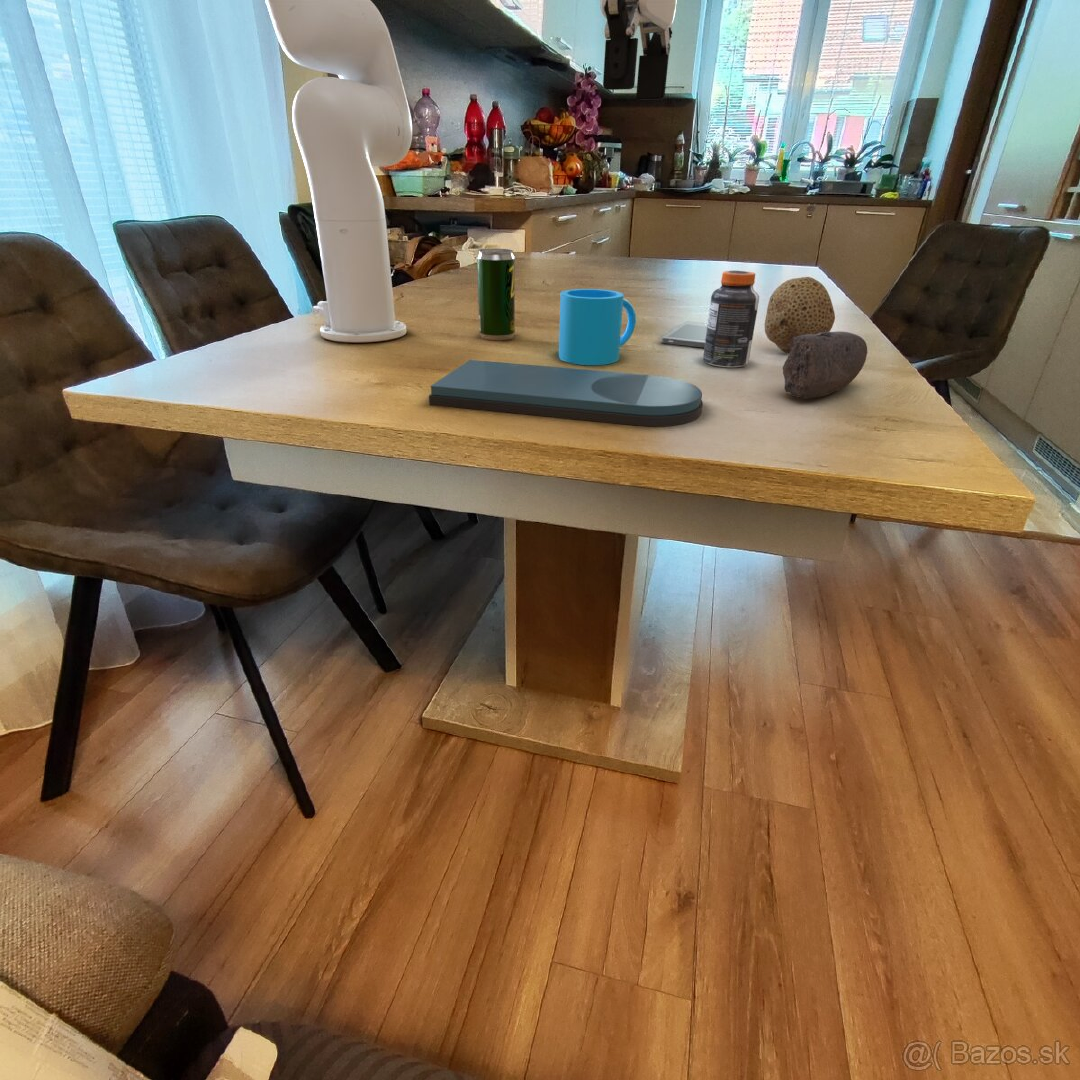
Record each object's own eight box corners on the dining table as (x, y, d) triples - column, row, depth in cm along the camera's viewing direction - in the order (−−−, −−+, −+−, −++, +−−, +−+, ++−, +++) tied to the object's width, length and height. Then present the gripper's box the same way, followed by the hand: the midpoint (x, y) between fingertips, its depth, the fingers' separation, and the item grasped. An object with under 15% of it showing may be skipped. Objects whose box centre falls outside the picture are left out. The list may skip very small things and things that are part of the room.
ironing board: (429, 404, 67) (427, 385, 66) (469, 375, 77) (468, 358, 76) (698, 432, 61) (701, 411, 60) (703, 396, 71) (706, 378, 70)
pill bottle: (756, 363, 85) (772, 271, 79) (734, 371, 81) (750, 275, 76) (716, 355, 88) (729, 267, 83) (693, 362, 85) (706, 270, 79)
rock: (836, 377, 79) (851, 319, 76) (877, 387, 76) (894, 327, 72) (763, 397, 71) (775, 333, 68) (804, 409, 68) (820, 343, 64)
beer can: (482, 341, 94) (479, 252, 88) (476, 333, 98) (474, 248, 92) (517, 340, 95) (517, 252, 89) (511, 332, 99) (510, 248, 93)
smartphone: (716, 349, 91) (716, 344, 91) (660, 342, 94) (661, 337, 94) (736, 330, 103) (737, 325, 102) (686, 325, 106) (687, 320, 105)
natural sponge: (833, 351, 91) (851, 277, 86) (814, 363, 85) (833, 284, 80) (771, 342, 96) (784, 271, 91) (749, 353, 90) (762, 277, 85)
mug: (584, 368, 81) (587, 300, 77) (546, 355, 87) (547, 291, 83) (652, 356, 87) (658, 293, 83) (612, 344, 93) (617, 285, 89)
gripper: (645, -92, 68) (630, 103, 76) (578, -160, 54) (568, 85, 63) (715, -102, 65) (691, 102, 73) (663, -177, 51) (641, 83, 60)
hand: (635, 94), depth 68 cm, fingers open, 9 cm apart
